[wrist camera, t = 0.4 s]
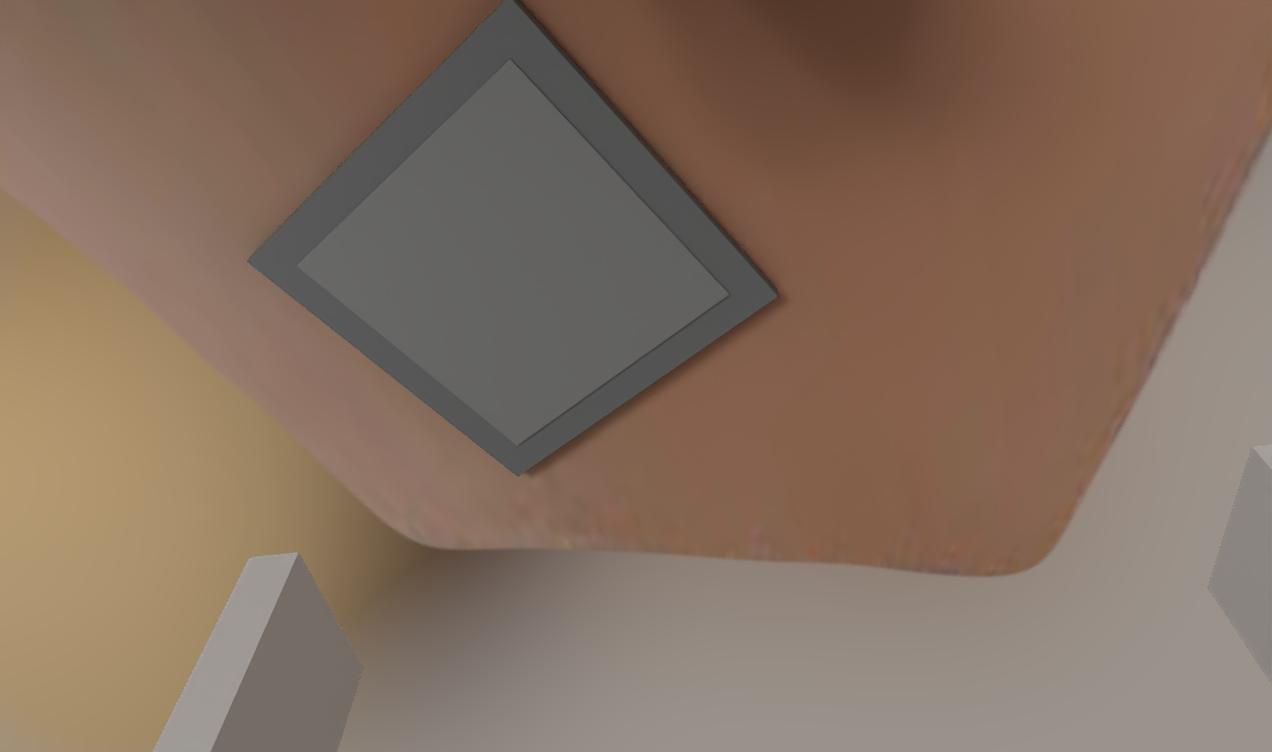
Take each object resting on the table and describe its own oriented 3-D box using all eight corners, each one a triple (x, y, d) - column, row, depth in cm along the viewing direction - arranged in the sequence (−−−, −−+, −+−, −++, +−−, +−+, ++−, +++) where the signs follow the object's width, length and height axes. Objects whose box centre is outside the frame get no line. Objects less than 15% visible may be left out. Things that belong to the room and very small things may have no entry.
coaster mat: (252, 254, 37) (245, 262, 37) (511, -8, 31) (509, -3, 31) (519, 468, 44) (517, 478, 44) (776, 289, 38) (778, 297, 37)
